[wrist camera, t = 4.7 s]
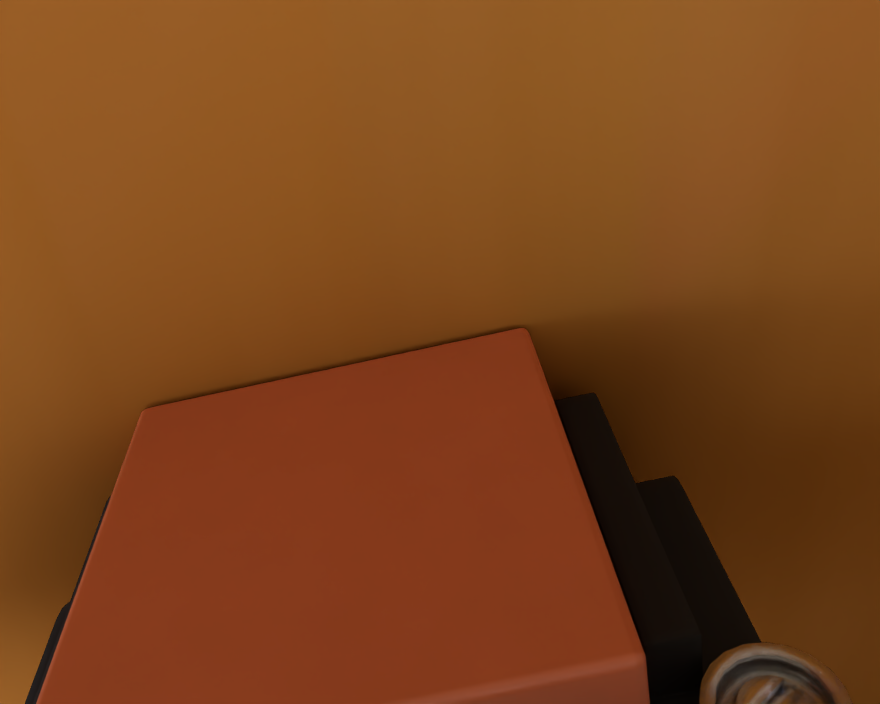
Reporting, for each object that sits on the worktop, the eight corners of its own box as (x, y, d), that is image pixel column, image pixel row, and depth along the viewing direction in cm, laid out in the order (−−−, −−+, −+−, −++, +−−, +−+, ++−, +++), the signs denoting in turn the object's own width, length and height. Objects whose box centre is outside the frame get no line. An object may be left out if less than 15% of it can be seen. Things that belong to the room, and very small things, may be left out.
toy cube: (527, 323, 10) (649, 659, 6) (569, 591, 13) (675, 953, 9) (139, 406, 10) (-2, 792, 6) (260, 654, 13) (218, 1042, 9)
